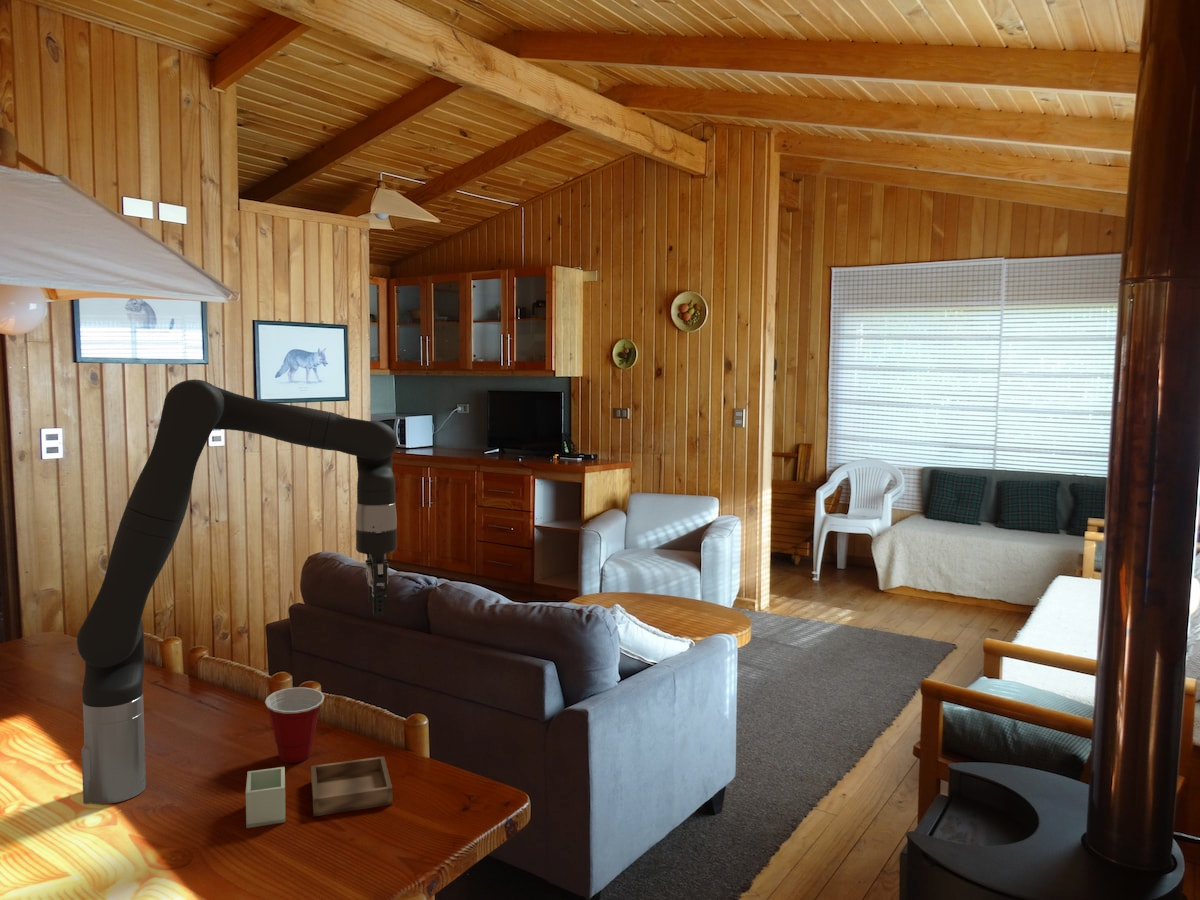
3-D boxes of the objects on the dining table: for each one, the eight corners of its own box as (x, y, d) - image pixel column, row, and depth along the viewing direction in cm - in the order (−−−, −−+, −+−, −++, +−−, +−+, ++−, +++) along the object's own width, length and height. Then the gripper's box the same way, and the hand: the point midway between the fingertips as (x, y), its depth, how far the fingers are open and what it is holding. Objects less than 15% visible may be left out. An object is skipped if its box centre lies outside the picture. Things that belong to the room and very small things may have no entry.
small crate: (246, 828, 142) (245, 793, 142) (248, 805, 150) (247, 771, 149) (285, 822, 144) (284, 787, 144) (285, 799, 152) (284, 766, 151)
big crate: (313, 816, 146) (313, 799, 146) (311, 781, 158) (311, 765, 158) (392, 804, 151) (392, 787, 151) (384, 771, 163) (384, 756, 163)
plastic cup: (280, 775, 161) (279, 712, 160) (256, 756, 168) (255, 696, 167) (335, 757, 168) (334, 697, 167) (309, 740, 176) (308, 682, 175)
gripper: (353, 520, 170) (353, 601, 172) (359, 534, 157) (359, 621, 158) (392, 519, 173) (392, 599, 174) (401, 532, 159) (401, 618, 161)
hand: (377, 609), depth 166 cm, fingers open, 8 cm apart
